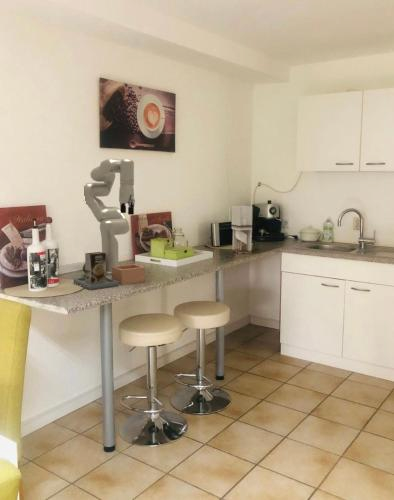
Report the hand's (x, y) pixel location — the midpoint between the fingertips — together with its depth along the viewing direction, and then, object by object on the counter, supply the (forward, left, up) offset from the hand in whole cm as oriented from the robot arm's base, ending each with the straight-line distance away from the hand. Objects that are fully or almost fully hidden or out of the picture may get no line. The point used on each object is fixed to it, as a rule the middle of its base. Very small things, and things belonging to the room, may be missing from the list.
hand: (127, 213), depth 274 cm
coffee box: (+5, -22, -36) cm, 42 cm away
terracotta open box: (+8, -4, -36) cm, 37 cm away
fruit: (-16, -14, -36) cm, 42 cm away
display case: (-30, +115, -36) cm, 124 cm away
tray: (+5, -22, -36) cm, 43 cm away
